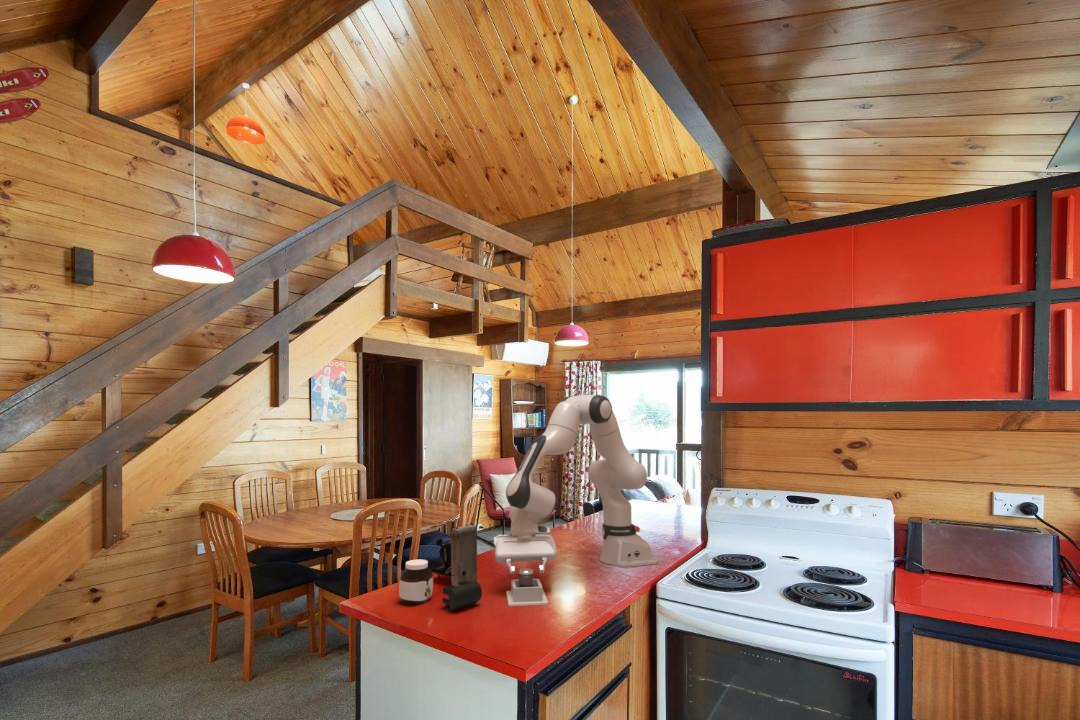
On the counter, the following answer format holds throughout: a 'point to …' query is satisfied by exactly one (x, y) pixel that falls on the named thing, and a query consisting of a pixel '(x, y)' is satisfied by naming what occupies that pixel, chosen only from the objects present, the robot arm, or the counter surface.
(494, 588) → the counter surface
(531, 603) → the open square tray
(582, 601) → the counter surface
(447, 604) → the end cap
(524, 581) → the brown cylinder
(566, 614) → the counter surface
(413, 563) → the spread jar
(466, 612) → the counter surface
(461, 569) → the vintage camera
